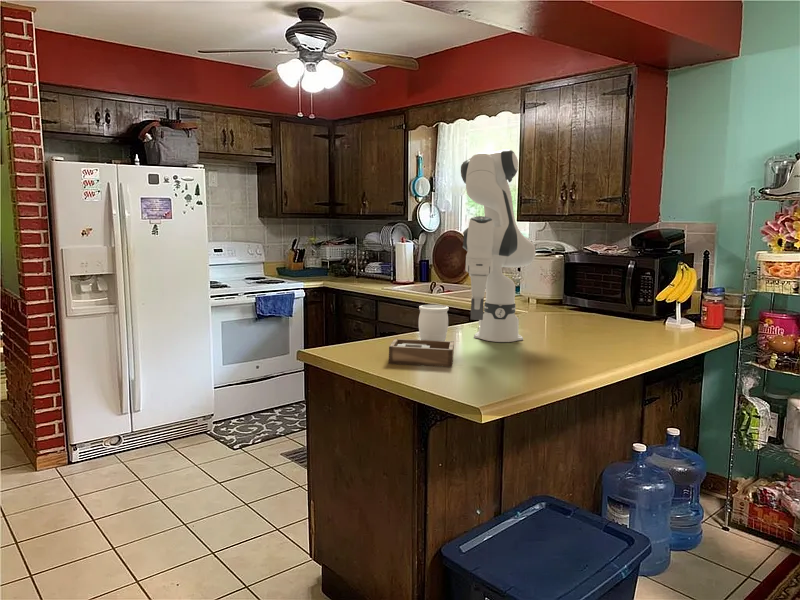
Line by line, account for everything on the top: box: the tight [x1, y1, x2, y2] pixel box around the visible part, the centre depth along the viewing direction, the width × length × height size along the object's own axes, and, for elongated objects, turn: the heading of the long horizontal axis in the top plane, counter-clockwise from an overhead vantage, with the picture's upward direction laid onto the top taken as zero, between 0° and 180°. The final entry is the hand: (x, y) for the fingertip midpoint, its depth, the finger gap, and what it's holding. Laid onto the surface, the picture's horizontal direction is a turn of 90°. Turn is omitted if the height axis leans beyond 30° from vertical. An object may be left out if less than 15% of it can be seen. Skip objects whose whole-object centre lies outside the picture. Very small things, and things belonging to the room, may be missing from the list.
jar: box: [417, 304, 449, 341], centre depth 216 cm, size 11×10×15 cm
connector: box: [470, 296, 485, 321], centre depth 202 cm, size 4×4×8 cm
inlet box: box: [388, 338, 455, 368], centre depth 198 cm, size 13×20×6 cm, turn 83°
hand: (476, 307), depth 202 cm, fingers closed on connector, 4 cm apart
